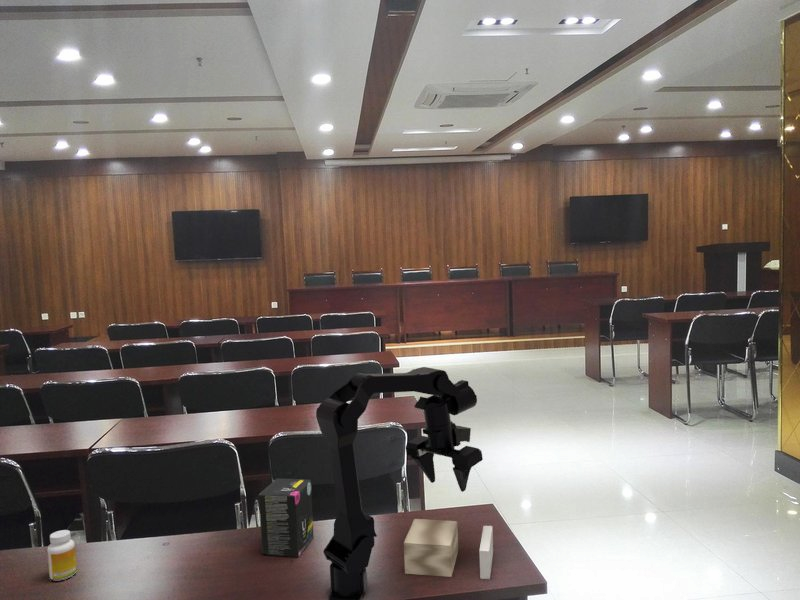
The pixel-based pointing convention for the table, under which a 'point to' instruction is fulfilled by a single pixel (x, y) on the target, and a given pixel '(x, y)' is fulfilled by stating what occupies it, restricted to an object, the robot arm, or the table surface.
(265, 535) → the tampon box
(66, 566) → the supplement bottle
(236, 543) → the table surface
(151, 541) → the table surface
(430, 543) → the block
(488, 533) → the bar
